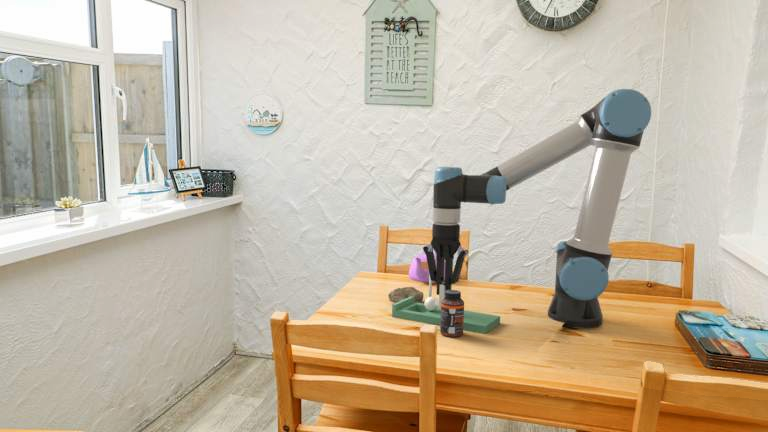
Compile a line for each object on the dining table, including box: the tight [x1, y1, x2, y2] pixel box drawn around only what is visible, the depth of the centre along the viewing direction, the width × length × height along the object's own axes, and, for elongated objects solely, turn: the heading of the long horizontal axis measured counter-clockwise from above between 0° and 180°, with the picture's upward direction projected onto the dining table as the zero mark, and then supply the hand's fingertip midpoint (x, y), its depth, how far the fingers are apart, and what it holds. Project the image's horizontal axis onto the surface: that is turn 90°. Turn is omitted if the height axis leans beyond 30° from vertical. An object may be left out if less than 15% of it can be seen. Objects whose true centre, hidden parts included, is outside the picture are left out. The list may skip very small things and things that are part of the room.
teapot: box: [408, 252, 445, 284], centre depth 210 cm, size 13×20×11 cm
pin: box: [421, 261, 433, 297], centre depth 174 cm, size 5×3×14 cm, turn 59°
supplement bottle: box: [439, 289, 465, 338], centre depth 152 cm, size 6×6×11 cm
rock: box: [388, 286, 425, 304], centre depth 181 cm, size 8×11×4 cm
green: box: [391, 296, 501, 335], centre depth 165 cm, size 28×11×4 cm, turn 59°
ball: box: [424, 296, 439, 311], centre depth 166 cm, size 4×4×4 cm
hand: (443, 306), depth 165 cm, fingers closed
